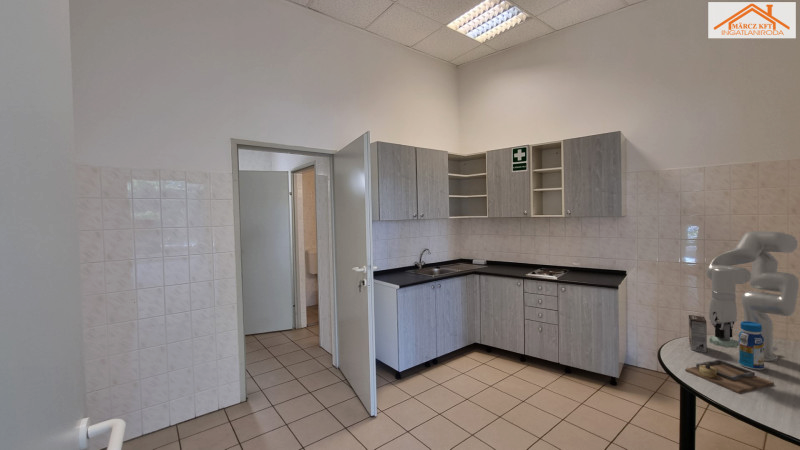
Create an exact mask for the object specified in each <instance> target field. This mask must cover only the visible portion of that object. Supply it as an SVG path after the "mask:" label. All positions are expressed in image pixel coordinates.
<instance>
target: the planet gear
mask: <svg viewBox="0 0 800 450" xmlns="http://www.w3.org/2000/svg"><path fill="white" fill-rule="evenodd" d="M718 324H719V325H720V323H718ZM723 330H724V339H721V338H718V337H715V335H710V337H708V338H709V340H708V342H709V344H713V345H714V346H719V347H723V348H725V349H726V348H727V349H729V348H734V349H737V348H738V347H739V342H738V340H736V339H733V337H731V338H730V324H727V323H724V325H723Z"/></svg>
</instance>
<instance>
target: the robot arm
mask: <svg viewBox="0 0 800 450" xmlns="http://www.w3.org/2000/svg"><path fill="white" fill-rule="evenodd" d="M735 245H736V246H735V247H734V249H731V250H729V251H726V252H723V253H721V254H719V255H716V256H715V257H714V258H713V259H712V260H711V262H710V263H709V265H708V267H707V269H706V277H708V279H709V280H711V299H710V302H709V308H708V309H709V311H708V319H709V320H710V321H709V322H710V325H712V326H713V328H714V336H715V337H718V338H721V339H724V330H723V325H724V323H727V324H730V338H733V329H734V325H735V323H736V322H737V319H738V318H737V317H738V311H737V303H736V285H744V284H747V283H748V282H749V286H751V288H753V289H757V290H761V291H757V290H755V291H754V290H749V291H744V292H743V294H741V300H740V301H741V304H742V309H743V317H744V318H743V319H744V320H743V321H749V322H755V323H759V324H761V326H762V331H761V333H760V334H761V335H762V336H763V338H764V342H763V343H764V345H765V348H764V362H776V361H778V359H779V358H778V356H777V355H776V354H775V353H774V352H776V351H778V350H779V349H778V347H777V346H774V335H773V334H774V331H773V330H774V325H773V324H774V323H773V320H772V318H771V317H770V315H776V316H781V317H791V316H792V315H794V313H795V311H796V308H797V307H796V306H797V300H798V294H799V287H800V285H799V284H800V282H799V279H798V277H797V276H796V275H795V274H793V273H790V272H784V271H783V272H782V271H778V266H779V262H778V259H776V257H775V256H774V255H772V254H771V252H772V253H786V254H787V253H789V254H791V253H793V252H795V251H796V250H797V248H798V240H797V238H796V237H795V236H794V235H792V234H789V233H785V232H781V231H780V232H779V231H761V230H760V231H759V230H758V231H757V230H755V231H754V230H752V231H747V232H745V233H744V234H743V235H742V236H741V238H740V239H739V240H738V242H737V243H736V244H735ZM749 263H752V265H751V270H749V269H748V268H746V267H743V266H737V265H744V264H749ZM764 291H765V292H764ZM767 291H768V292H767ZM770 292H776V293H780V294H776V293H770ZM718 323H720V325H719V324H718Z"/></svg>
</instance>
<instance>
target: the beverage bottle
mask: <svg viewBox="0 0 800 450" xmlns="http://www.w3.org/2000/svg"><path fill="white" fill-rule="evenodd" d="M740 330H741V331H740V332H739V334H738V340H737V341H738V342H739V346H738V363H739V365H740V366H741V367H744V368H745V369H749V370H750V369H751V370H756V371H757V370H758V371H759V370H760V371H761V370H764V369H765V361H764V348H765V345H764V343H763V342H764V338H763V336H762V335H761V334H760V333H761V331H762V326H761V324H759V323H755V322H749V321H744V320H742V321H741V322H740Z"/></svg>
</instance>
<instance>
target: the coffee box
mask: <svg viewBox="0 0 800 450" xmlns="http://www.w3.org/2000/svg"><path fill="white" fill-rule="evenodd" d="M707 326H708V325H707V320H706V318H705V317H704V316H701V315H700V316H699V315H691V314H688V339H689V341H688V342H689V343H688V344H689V347H690V350H691V351H694V350H695V352H700V351H701V352H700V353H707V351H708V349H707V348H708V339H707V338H708V337H707V336H708V332H707V331H708V330H707V328H708V327H707Z"/></svg>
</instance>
